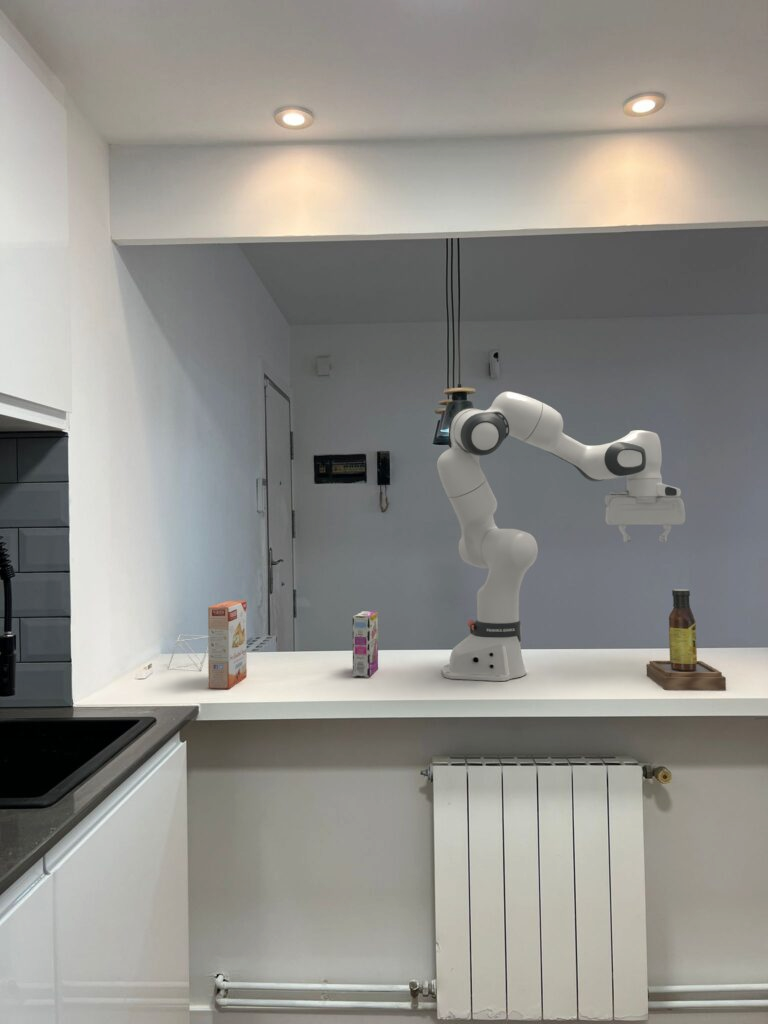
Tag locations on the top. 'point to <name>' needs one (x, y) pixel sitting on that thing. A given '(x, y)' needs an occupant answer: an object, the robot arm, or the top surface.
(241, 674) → the cracker box
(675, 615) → the sauce bottle
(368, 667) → the candy bar box
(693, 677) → the tray
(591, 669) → the top surface
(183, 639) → the geometric polyhedron
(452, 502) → the robot arm
